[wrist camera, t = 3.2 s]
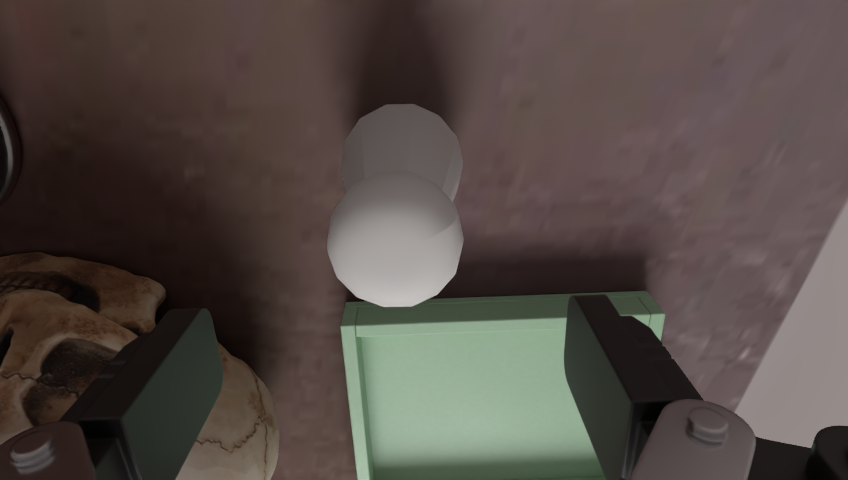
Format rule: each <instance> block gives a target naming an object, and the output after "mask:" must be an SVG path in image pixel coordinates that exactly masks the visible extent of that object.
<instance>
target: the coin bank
mask: <svg viewBox="0 0 848 480" xmlns="http://www.w3.org/2000/svg"><path fill="white" fill-rule="evenodd" d="M165 298H166V290H165V289H164V287H163V286H162V285H161V284H160V283H158V282H156V281H154V280H152V279H150V278H148V277H143V276H137V275H133V274H131V273H130V272H128V271H126V270H122V269H119V268H117V267H114V266H111V265H106V264H102V263H97V262H91V261H85V260H81V259H77V258H73V257H55V256H52V255H48V254H45V253H42V252H32V253H23V254H14V255H9V256H4V257H0V445H1V444H3V443H4V442H5V441H7V440H8V439H10V438H12V437H13V436H15V435H17V434H19V433H21V432H23V431H25V430H27V429H29V428H32V427H35V426H38V425H41V424H45V423H50V422H56V421H59V420H60V418H61V417H62V416H63V415H64V414H65V413H66V412H67V410H68V409H69V408H70V407H71V406H72V405H73V404H74V402H75V401H76V400H77V399H78V398H79V397H80V396H81V394H82V393H83V392H84V391H85V390H86V389H87V388H88V387H89V385H90V384H91V383H92V382H93V381H94V380H95V379H98V377H99V376H98V375H99V374H100V373H101V372H102V371H103V369H104V368H105V367H106V366H107V365H110V361H111V360H112V359H113V358H114V357H115V356H116V355H117V353H118V352H119V351H120V350H121V349H122V348H123V347H124V346H125V345H127V344H128V343H130V342H131V341H133V340H134V339H136V338H137V337H139V336H140V335H142V334H143V333H145V332H151V331H152V330H153V328H154V327H155V326H156V324H155V313H156V311H157V309H158V308H159V306H160V305H161V304H162V302H163V301H164V299H165ZM217 343H218V342H217ZM218 348H219V352H220V357H221V361H222V366H223V383H222V388H221V392H220V394H219V397H218V398H217V400H216V402H215V404H214V406H213V408H212V410H211V412H210V414H209V416H208V418H207V420H206V422H205V424H204V425H203V427H202V429H201V431H200V433H199V435H198V437H197V439H196V441H195V443H194V445H193V447H192V449H191V451H190V453H189V454H188V456H187V458H186V460H185V462H184V464H183V466H182V468H181V470H180V472H179V474H178V476H177V478H176V480H270V479H271V477H272V475H273V472H274V469H275V467H276V462H277V459H278V446H279V435H280V430H279V422H278V417H277V414H276V410H275V406H274V402H273V399H272V396H271V394H270V392H269V391H268V389H267V387H266V386H265V384H264V383H263V381H262V380H261V379H260V378H259V377H258V376H256V375H255V373H254V372H253V370H252V369H251V367H249V366H248V365H247V364H246V363H245V362H244V361H242V360H240V359H238V358H236V357H234V356H231V355H230V354H229V352H228V351H227V350H226V349H225V348H224V347H223V346H222V345H221V344H219V343H218Z"/></svg>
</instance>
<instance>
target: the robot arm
mask: <svg viewBox="0 0 848 480" xmlns="http://www.w3.org/2000/svg"><path fill="white" fill-rule="evenodd" d="M20 167H21V149H20V143H19V138H18V134H17V130H16V128H15V125H14V122H13V120H12V118H11V116H10V114H9V112H8V110H7V108H6V106H5V105H4V103H3V101H2V100H1V98H0V205H1V204H2V203H3V202H4V201H5V200H6V199H7V198H8V197H9V196H10V194H11V193H12V191H13V189H14V188H15V185H16V183H17V180H18V177H19V173H20ZM564 369H565V376H566V380H567V383H568V386H569V388H570V391H571V393H572V396H573V398H574V401H575V403H576V406H577V408H578V411H579V413H580V416H581V418H582V421H583V423H584V426H585V428H586V431H587V433H588V436H589V438H590V441H591V443H592V446H593V448H594V451H595V453H596V456H597V458H598V461H599V463H600V466H601V468H602V471H603V473H604V476H605V478H606V480H848V426H831V427H827V428H824V429H822V430H820V431H819V432H818V433H817V435H816V437H815V439H814V442H813V445H812V448H807V447H802V446H797V445H791V444H786V443H780V442H775V441H770V440H766V439H762V438H758V437H755V435H754V432H753V430H752V429H751V428H750V426H749V425H748V424H747V423H746V422H745V421H744V420H743V419H742V418H741V417H739V416H738V415H737V414H735V413H734V412H732V411H730V410H728V409H726V408H724V407H722V406H720V405H717V404H714V403H711V402H708V401H704V400H703V399H702V397H701V396H700V395H699V393H698V392H697V391H696V389H695V388H694V386H693V385H692V384H691V382H690V381H689V380H688V378H687V377H686V375H685V374H684V373H683V371H682V370H681V369H680V367H679V366H678V365H677V363H676V362H675V360H674V359H671V355H670V354H669V352H668V351H667V350H666V348H665V347H662V343H661V341H660V340H659V339H658V337H657V336H656V335H655V333H654V332H653V330H652V329H651V328H650V327H648V326H647V325H645V324H644V323H642V322H641V321H639V320H638V319H636V318H635V317H633V316H620V314H619V313H618V311H617V310H616V308H615V307H614V305H613V304H612V302H611V301H610V299H609V298H608V297H607V295H605V294H599V295H572V296H570V298H569V301H568V308H567V321H566V333H565V346H564ZM98 376H99V377H98V379H95V380H94V381H93V382H92V383H91V384H90V385H89V387H88V388H87V389H86V390H85V391H84V392H83V393H82V394H81V396H80V397H79V398H78V399H77V400H76V401H75V402H74V404H73V405H72V406H71V407H70V408H69V409H68V410H67V412H66V413H65V414H64V415H63V416H62V417H61V418H60V420H59V421H56V422H50V423H45V424H41V425H38V426H35V427H32V428H29V429H27V430H25V431H23V432H21V433H19V434H17V435H15V436H13V437H12V438H10V439H8V440H7V441H5V442H4V443H3V444H1V445H0V480H176V478H177V476H178V474H179V472H180V470H181V468H182V466H183V464H184V462H185V460H186V458H187V456H188V454H189V453H190V451H191V449H192V447H193V445H194V443H195V441H196V439H197V437H198V435H199V433H200V431H201V429H202V427H203V425H204V424H205V422H206V420H207V418H208V416H209V414H210V412H211V410H212V408H213V406H214V404H215V402H216V400H217V398H218V397H219V394H220V392H221V388H222V383H223V366H222V361H221V357H220V352H219V348H218V343H217V339H216V334H215V330H214V325H213V321H212V317H211V314H210V312H209V311H208V309H206V308H190V309H171V310H169V311H168V312H167V313H166V314H165V315H164V316H163V318H162V319H161V320H160V321H159V322H158V324H157V325H156V326H155V327H154V328H153V330H152V331H151V332H145V333H143V334H142V335H140V336H139V337H137V338H136V339H134V340H133V341H131V342H130V343H128V344H127V345H125V346H124V347H123V348H122V349H121V350H120V351H119V352H118V353H117V355H116V356H115V357H114V358H113V359H112V360H111V361H110V365H107V366H106V367H105V368H104V369H103V371H102V372H101V373H100V374H99V375H98Z"/></svg>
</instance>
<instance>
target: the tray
mask: <svg viewBox="0 0 848 480" xmlns="http://www.w3.org/2000/svg"><path fill="white" fill-rule="evenodd" d="M599 294H605V295H607V297H608V298H609V299H610V301H611V302H612V304H613V305H614V307H615V308H616V310H617V311H618V313H619V314H620V316H633V317H635V318H636V319H638V320H639V321H641V322H642V323H644V324H645V325H647V326H648V327H650V328H651V329H652V330H653V332H654V333H655V335H656V336H657V337H658V339H659V340H660V341H661V336H662V330H663V324H664V318H665V313H664V311H663V310H662V309H661V308H660V307H659V305H658V304H657V303H656V302H655V301H654V299H653V298H652V297H651V296H650V294H649V293H648V292H647V291H627V292H601V293H574V294H548V295H522V296H495V297H469V298H443V299H427V300H425V301H423V302H421V303H419V304H416V305H414V306H412V307H382V306H379V305H377V304H374V303H371V302H368V301H363V302H346V303H345V308H344V312H343V316H342V320H341V325H340V329H341V338H342V347H343V356H344V365H345V374H346V383H347V392H348V401H349V410H350V419H351V428H352V437H353V446H354V454H355V463H356V472H357V480H606V478H605V476H604V473H603V471H602V468H601V466H600V463H599V461H598V458H597V456H596V453H595V451H594V448H593V446H592V443H591V441H590V438H589V436H588V433H587V431H586V428H585V426H584V423H583V421H582V418H581V416H580V413H579V411H578V408H577V406H576V403H575V401H574V398H573V396H572V393H571V391H570V388H569V386H568V383H567V380H566V376H565V369H564V346H565V333H566V321H567V308H568V301H569V298H570V296H572V295H599Z"/></svg>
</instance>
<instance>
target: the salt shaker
mask: <svg viewBox="0 0 848 480" xmlns="http://www.w3.org/2000/svg"><path fill="white" fill-rule="evenodd" d="M462 167H463V160H462V156H461V151H460V147H459V142H458V138H457V136H456V135H455V134H454V133H453V132H452V130H451V129H450V128H449V127H448V126H447V124H446V123H445V122H444V121H443V119H442V118H441V117H440V116H439V115H437V114H435V113H433V112H430V111H428V110H426V109H424V108H422V107H419V106H417V105H415V104H388V105H384V106H382V107H380V108H379V109H377V110H375V111H373V112H371V113H369V114H367V115H365V116H363V117H361V118H360V119H359V121H358V122H357V124H356V125H355V126H354V128H353V129H352V131H351V132H350V134H349V135H348V137H347V138H346V139H345V142H344V148H343V155H342V161H341V173H342V178H343V184H344V189H345V196H344V197H343V198H342V200H341V201H340V203H339V204H338V205H337V207H336V208H335V210H334V211H333V213H332V215H331V220H330V227H329V233H328V239H327V252H328V255H329V257H330V260H331V263H332V265H333V268H334V271H335V273H336V276H337V278H338V279H339V280H340V281H341V282H342V283H343V284H344V285H345V286H346V287H347V288H348V289H349V290H350V291H351V292H352V293H353V294H354V295H355V296H356V297H358V298H360V299H363V300H366V301H368V302H371V303H374V304H377V305H379V306H382V307H412V306H414V305H416V304H419V303H421V302H423V301H425V300H427V299H429V298H431V297H433V296H436V295H438V293H439V292H440V291H441V290H442V289H443V288H444V287H445V286H446V284H447V283H448V282H449V281H450V280H451V279H452V278H453V277H454V275H455V274H456V271H457V267H458V262H459V258H460V254H461V250H462V246H463V241H464V237H463V233H462V229H461V224H460V220H459V216H458V211H457V209H456V206H455V204H454V203H453V201H454V198H455V195H456V192H457V189H458V185H459V180H460V176H461V171H462Z"/></svg>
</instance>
